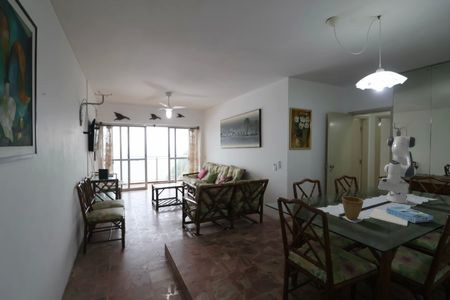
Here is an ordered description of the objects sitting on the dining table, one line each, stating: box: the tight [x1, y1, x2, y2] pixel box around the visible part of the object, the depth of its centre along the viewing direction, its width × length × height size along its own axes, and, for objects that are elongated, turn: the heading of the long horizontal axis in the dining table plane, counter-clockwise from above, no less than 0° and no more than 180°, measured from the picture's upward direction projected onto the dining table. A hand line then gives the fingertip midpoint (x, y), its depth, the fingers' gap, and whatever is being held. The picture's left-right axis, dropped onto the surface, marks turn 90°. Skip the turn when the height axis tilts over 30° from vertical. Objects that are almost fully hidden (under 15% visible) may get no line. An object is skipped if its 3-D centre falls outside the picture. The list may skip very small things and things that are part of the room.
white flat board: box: [368, 208, 409, 227], centre depth 179 cm, size 28×24×1 cm
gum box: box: [385, 205, 434, 224], centre depth 178 cm, size 19×5×23 cm
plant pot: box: [341, 196, 364, 221], centre depth 173 cm, size 15×15×16 cm
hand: (392, 196), depth 183 cm, fingers closed
